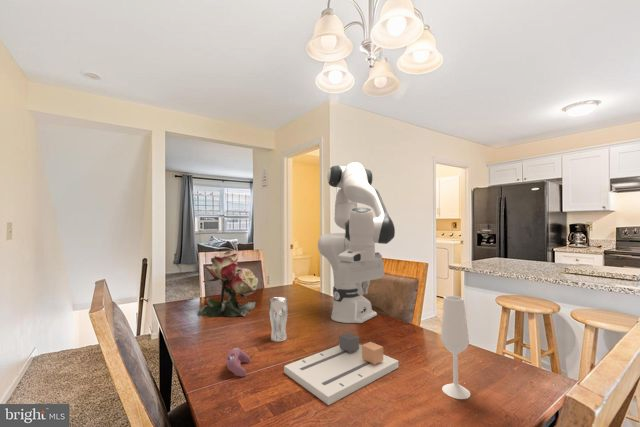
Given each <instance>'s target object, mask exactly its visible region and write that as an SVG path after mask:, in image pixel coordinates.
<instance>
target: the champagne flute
mask: <svg viewBox="0 0 640 427" xmlns="http://www.w3.org/2000/svg"><path fill="white" fill-rule="evenodd" d="M442 302H443V305H442V315H441V316H442V317H441V327H440V328H441V330H440V341H441V343H442V345H443V346H444V347H445V348H446V349H447V350H448V351H449V352H450V353H451V354H452V378H453V379H452V383H448V384H444V385H443V386H442V388H441V389H442V392H443V393H444V394H445V395H447V396H449V397H450V398H453V399H456V400H457V399H458V400H466V399H469V398H470V396H471V391H470V390H468V388H466V387H464V386H462V385H461V384H459V361H458V360H459V358H458V355H459V354H461V353H462V352H464V351H465V350H466V349H468V348H469V347H468V346H469V345H470V338H469V330H468V323H467V317H466V307H465V300H464V298H463V297H461V296H457V295H445V296H443V301H442Z"/></svg>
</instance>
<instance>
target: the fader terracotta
mask: <svg viewBox="0 0 640 427" xmlns="http://www.w3.org/2000/svg"><path fill="white" fill-rule="evenodd" d="M361 345H362V359H364V360H366V361H368V362H370V363H372V364H377V363H379V362H381V361H383V354H384V346H382V345H379V344H376V343H375V342H373V341H369V342H366V343H363V344H361Z"/></svg>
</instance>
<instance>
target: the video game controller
mask: <svg viewBox="0 0 640 427" xmlns="http://www.w3.org/2000/svg"><path fill="white" fill-rule="evenodd" d="M241 362H242V363H244V364H245V363H246V364H248V363H250V362H251V357H250V356H249V354H247V353H246V352H244V351H243V350H242V349H241V348H239V347H235V348H232V349H231V350H230V351H229V352H228V354H227V359H225V364H226V367H227V369H228V370H229V371H231V372H232V373H233V374H234V375H236V376H238V377H241V378H243V377H245V376H247V371H246V369H245V368H244V367H242V365H241V364H242V363H241Z"/></svg>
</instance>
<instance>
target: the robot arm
mask: <svg viewBox="0 0 640 427" xmlns="http://www.w3.org/2000/svg"><path fill="white" fill-rule="evenodd" d="M373 180H374V177H373V172H372V171H371V170H370V169H367V168H365V167H364V166H363V165H362V163H360V162H355V161H353V162H350V163H348V164H347V165H346V166H343V165H340V166H339V165H333V166H331V167H330V168H329V170H328V172H327V183H328V185H329V186H330V187H333V188H339V190H337V191H336V192H337V193H336V196H335V202H334V203H335V204H334V219H333V220H334V223H335V225H336V226H337V227H339V228H340V229H342V230H344V232H333V233H332V232H330V233H326V234H321V236H320V237H319V238H318V241H317V250H318V252H319V253H320V254H321V255H322V256H323V257H324V258H326V260H327V261H328V263H329V265H330V266H331V268H332V275H333V287H332V294H333V303H332V309H331V310H332V312H331V316H330V318H331V320H333V321H334V322H338V323H347V324H350V323H351V324H352V323H353V324H354V323H355V324H362V323H364V322H366V321H368V320H370V319H372V318H374V317H376V316H378V313H377V312H376V311H375V310H373V308H372V303H371V301H370V300H369V299H367V298H366V297H365V296H364V295H368V293H369V292H368V290H369V287H370V285H371V281H373V280H375V281H376V280H378V279H383V278H384V277H385V266H384V264H385V263H384V260H383V255H382V254H381V253H380V252H376V244H382V245H387V244H389V242H390V243H391V241H392V240H393V239H394V238H395V234H396V232H395V231H396V229H395V224H394V222H393V220H392V218H391V217H390V215H389V213H388V210H387V208H386V206H385V203H384V201H383V199H382V196H381V194H380V192H379V191H378V189H376V188H374V187H373V186H372V184H373ZM358 204H362V205H365V206H368V207H370V208H371V209H370V208H368V207H358ZM373 212H374V214H373ZM374 215H375V217H374Z"/></svg>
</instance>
